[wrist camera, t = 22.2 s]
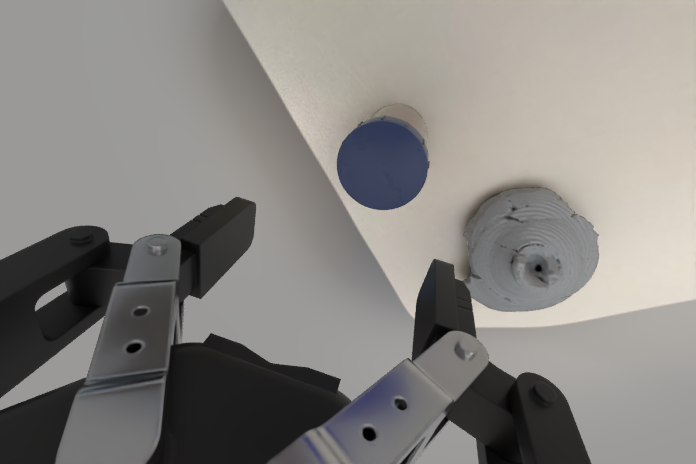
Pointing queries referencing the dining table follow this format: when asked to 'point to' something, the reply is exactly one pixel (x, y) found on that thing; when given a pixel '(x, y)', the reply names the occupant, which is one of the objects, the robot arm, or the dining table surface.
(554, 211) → the grey clay mound
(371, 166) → the lid
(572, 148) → the dining table surface
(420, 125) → the jar
